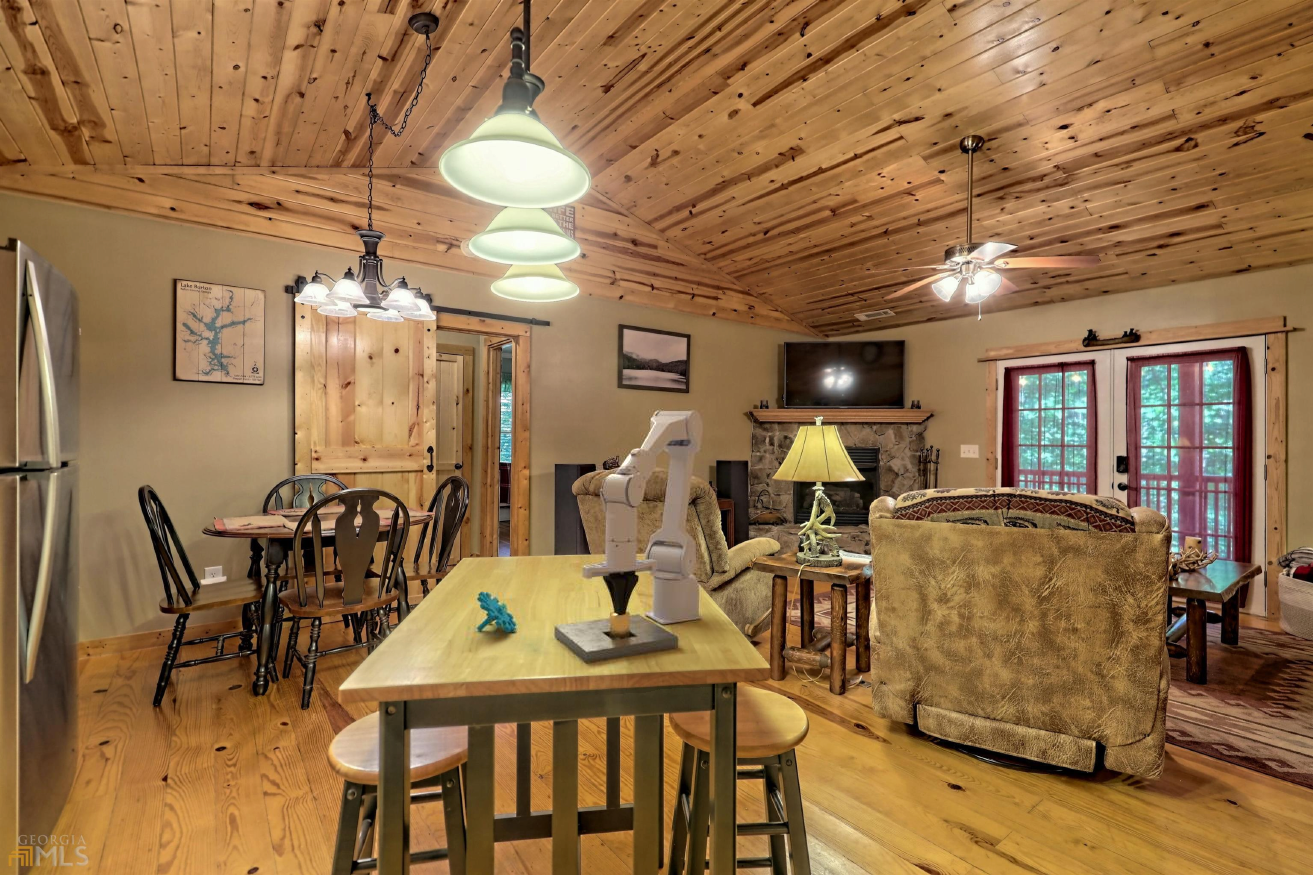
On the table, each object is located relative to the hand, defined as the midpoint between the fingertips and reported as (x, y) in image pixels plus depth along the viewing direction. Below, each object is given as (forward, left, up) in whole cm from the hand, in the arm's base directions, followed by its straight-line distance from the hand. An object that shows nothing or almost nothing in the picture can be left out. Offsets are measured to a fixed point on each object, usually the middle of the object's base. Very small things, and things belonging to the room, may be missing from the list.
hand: (619, 613), depth 116 cm
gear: (+18, -19, -6) cm, 26 cm away
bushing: (0, 0, -6) cm, 6 cm away
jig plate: (0, -2, -6) cm, 6 cm away
